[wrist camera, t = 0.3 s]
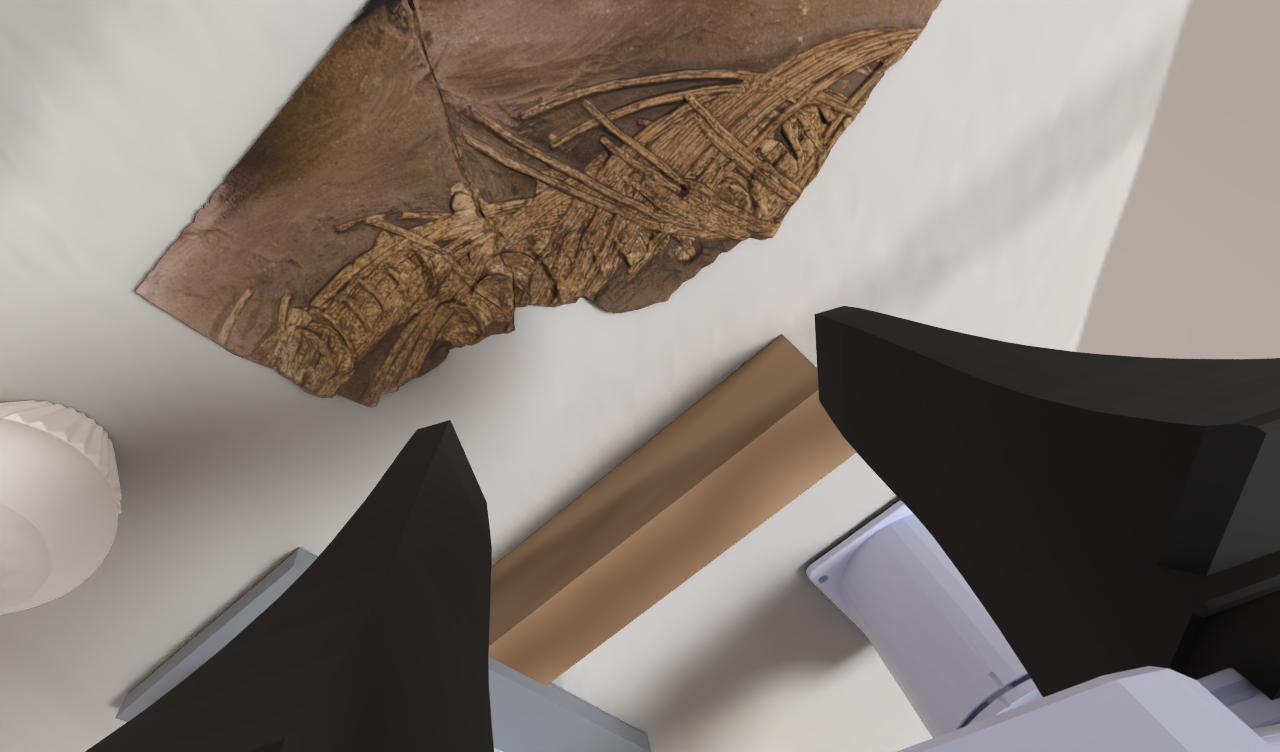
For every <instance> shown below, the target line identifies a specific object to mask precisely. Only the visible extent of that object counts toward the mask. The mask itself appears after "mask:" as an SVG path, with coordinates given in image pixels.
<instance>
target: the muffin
mask: <svg viewBox="0 0 1280 752" xmlns="http://www.w3.org/2000/svg"><path fill="white" fill-rule="evenodd" d="M121 499H122V494H121V488H120V482H119V476H118V470H117V464H116V457H115V451H114V449H113V445H112V441H111V440H110V439H108V434H107V432H105V431H103V427H102V426H99V425H96V424H95V420H94V419H90V418H87V417H86V416H85V414H84V413H81V412H76V411H75V410H74V408H72V407H69V408H66V407H64V406H62V405H61V404H58V403H57V404H52V403H50V402H48V401H41V402H37V401H35V400H29V401H17V402H5V403H0V615H3V614H9V613H14V612H19V611H23V610H26V609H30V608H33V607H36V606H39V605H42V604H45V603H48V602H50V601H53V600H55V599H57V598H60V597H62V596H64V595H65V594H67V593H69V592H71V591H72V590H74V589H75V588H77V587H78V586H79V585H81V584H82V583H83V582H84V581H86V580H87V579H88V578H89V577H90V576H91V575H92V574H93V573H94V572H95V571H96V569H97V568H98V567H99V566H100V565H101V563H102V562H103V561H104V559H105V558H106V556H107V555H108V553H109V551H110V549H111V547H112V545H113V542H114V540H115V537H116V533H117V528H118V515H120V514H121V503H120V500H121Z"/></svg>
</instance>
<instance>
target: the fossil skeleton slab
mask: <svg viewBox="0 0 1280 752" xmlns="http://www.w3.org/2000/svg"><path fill="white" fill-rule="evenodd" d="M412 1H413V3H414V6H415V10H413V11H412V9H411V8H410V7H409V5H408V0H370V2H369V3H368V4H367V5H366V6H365V7H364V12H363V13H362V14H361V15H360V16H359V17H358V18H357V19H355V20H354V21H353V22H352V23H351V25H350V26H349V27H348V28H347V30H346V31H345V32H344V33H343V35H342V36H341V37H340V39H339V40H338V41H337V43H336V44H335V46H334V47H333V49H332V50H331V52H329V53H328V54H327V55H326V56H325V58H324V59H323V61H322V62H321V63H320V64H319V65H318V67H317V68H316V69H315V70H314V71H313V72H312V73H311V74H310V76H309V77H308V78H307V79H306V81H305V82H304V83H303V84H302V86H301V87H300V88H299V89H298V91H297V92H296V93H295V95H294V97H293V99H292V101H290V102H288V103H287V104H286V106H285V107H284V109H283V110H282V112H281V113H280V114H279V115H278V117H277V118H276V119H275V120H274V121H273V122H272V123H271V124H270V126H269V127H268V128H267V130H266V131H265V132H264V133H263V134H262V136H261V137H260V138H259V139H258V141H257V142H256V143H255V145H254V146H253V147H252V148H251V149H250V150H249V152H248V153H247V154H246V155H245V157H244V158H243V159H242V160H241V162H240V163H239V164H238V165H237V166H236V167H235V168H234V169H233V170H232V171H231V172H230V173H229V175H228V178H227V180H226V181H225V182H224V183H223V184H222V185H221V186H220V187H219V188H218V189H217V191H216V192H215V193H214V194H213V196H212V198H211V200H210V203H206V204H205V208H200V210H199V211H198V213H197V215H196V217H195V223H191V224H190V225H189V226H188V227H186V228H185V229H184V231H183V233H182V235H181V236H180V238H179V239H178V240H177V241H176V242H175V243H173V245H172V246H171V247H170V248H169V250H168V251H167V252H166V254H165V255H164V256H163V257H162V258H161V260H160V261H159V263H158V264H157V266H156V267H155V269H154V270H153V271H150V272H149V274H148V276H147V277H146V279H145V280H144V281H143V283H142V284H141V285H140V286H139V287H138V288H137V290H135V292H137V293H139V294H140V295H141V296H143V297H144V298H145V299H147V300H148V301H150V302H151V303H153V304H155V305H156V306H158V307H159V308H161V309H163V310H165V311H167V312H168V313H170V314H172V315H173V316H175V317H176V318H178V319H179V320H181V321H182V322H184V323H185V324H187V325H189V326H190V327H192V328H193V329H195V330H197V331H198V332H200V333H202V334H204V335H205V336H207V337H209V338H210V339H212V340H213V341H214V342H216V343H217V344H219V345H220V346H222V347H223V348H225V349H226V350H228V351H229V352H231V353H232V354H234V355H236V356H239V357H242V358H245V359H248V360H252V361H254V362H257V363H260V364H262V365H265V366H268V367H270V368H274V369H276V370H277V371H278V372H279V373H280V374H281V375H283V376H284V377H286V378H288V379H291V380H293V381H294V382H295V383H296V384H297V385H299V386H301V387H302V388H303V389H304V391H305V392H307V393H310V394H313V395H316V396H318V397H321V398H332V397H333V396H335V395H337V394H338V395H341V396H343V397H346V398H348V399H351V400H353V401H355V402H358V403H360V404H363V405H366V406H369V407H376V406H377V404H378V401H379V398H380V395H383V394H387V393H391V392H395V391H398V389H399V386H401V385H404V384H405V383H406V382H408V381H410V380H411V379H413V378H417V377H420V376H422V375H424V374H426V373H427V372H429V371H430V370H432V369H434V368H435V367H437V366H438V365H439V364H440V363H442V362H443V361H444V360H445V359H446V357H447V355H448V353H449V349H452V348H455V347H461V348H462V347H463V346H464V345H465V344H467V345H472V346H473V345H474V344H476V343H478V342H480V341H481V340H483V339H484V338H486V337H488V336H490V335H493V334H501V333H507V334H508V333H510V332H512V331H514V330H515V326H514V311H515V307H525V306H528V305H535V304H538V305H541V306H549V307H557V306H560V305H564V304H569V303H576V302H577V300H578V299H579V298H580V297H581V296H582V297H584V298H586V299H588V300H590V301H592V302H594V303H595V304H597V305H599V306H600V307H602V308H604V309H605V310H607V311H610V312H612V313H623V312H628V311H633V310H638V309H641V308H644V307H647V306H650V305H652V304H655V303H659V302H664V301H668V299H669V297H670V296H671V294H672V293H673V292H674V291H676V290H677V289H678V288H679V287H680V285H681V284H682V283H683V282H685V281H687V280H689V279H691V278H693V277H694V276H695V275H696V274H697V273H698V272H699V271H700V270H701V269H702V268H703V267H705V266H708V265H710V264H711V263H713V262H714V261H715V259H716V258H717V256H718V255H719V254H720V253H722V252H728V251H729V250H731V249H732V248H734V247H735V246H736V245H737V244H738V243H740V242H741V241H743V240H746V239H747V238H748V237H752V238H757V239H763V240H764V239H767V238H773V237H774V235H775V234H776V232H777V230H778V228H779V227H780V224H781V222H782V220H783V218H784V216H785V215H786V214H787V212H788V211H789V209H790V208H791V206H792V205H793V204H794V203H795V202H796V201H797V200H798V199H799V197H800V195H801V193H802V192H803V190H804V189H805V188H806V187H807V186H808V185H809V183H810V182H811V181H812V180H813V179H814V178H815V177H816V176H817V174H818V172H819V171H820V169H821V167H822V166H823V164H824V162H825V160H826V159H827V157H828V155H829V152H830V150H831V148H832V147H833V145H834V144H835V143H836V141H837V140H838V138H839V137H840V136H841V134H842V133H843V132H844V131H845V129H846V128H847V127H848V126H849V124H851V123H852V122H853V121H854V119H855V117H856V116H857V114H858V113H859V112H860V110H861V109H862V108H863V106H864V105H865V104H866V103H865V102H866V101H867V99H868V98H869V95H870V93H871V91H872V90H873V88H874V87H875V86H876V85H877V83H878V82H879V81H880V79H881V78H882V77H883V75H884V72H885V71H886V70H887V69H888V68H889V67H890V66H892V65H893V64H895V63H896V62H897V61H899V60H900V59H901V58H902V57H903V55H904V54H905V53H906V52H907V50H908V49H909V48H910V46H911V45H912V43H913V42H914V40H917V39H918V38H919V36H920V35H921V33H922V32H923V30H924V29H925V27H926V25H927V23H928V21H929V19H930V17H931V15H932V13H933V11H934V10H935V9H936V8H937V7H938V5H939V4H940V2H941V0H412Z"/></svg>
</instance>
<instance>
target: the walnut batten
mask: <svg viewBox="0 0 1280 752" xmlns="http://www.w3.org/2000/svg"><path fill="white" fill-rule="evenodd" d="M855 453H856V451H855V450H854V449H853V448H852V446H851V445H850V444H849V443H848V442H847V441H846V440H845V438H844V437H843V436H842V434H841V433H840V431H839V430H838V429H837V427H836V426H835V424H834V423H833V421H832V420H831V418H830V417H829V415H828V414H827V412H826V411H825V409H824V408H823V406H822V404H821V403H820V401H819V389H818V369H817V368H816V367H815V366H814V365H813V364H812V363H811V362H810V361H809V360H808V359H807V358H806V357H805V356H804V355H803V354H802V353H801V352H800V351H799V350H798V349H797V348H796V347H795V346H794V345H793V344H792V343H791V342H790V341H788V340H787V339H786V338H785V337H784V336H783V335H782V334H781V335H780V336H778V337H777V338H776V339H775V340H773V341H772V342H771V343H770V344H768V345H767V346H766V347H765V348H764V349H762V350H761V351H760V352H759V353H757V354H756V355H755V356H754V357H752V358H751V359H750V360H749V361H747V362H746V363H745V364H744V365H742V366H741V367H740V368H739V369H737V370H736V371H735V372H734V373H732V374H731V375H730V376H729V377H727V378H726V379H725V380H724V381H723V382H721V383H720V384H719V385H718V386H716V387H715V388H714V389H713V390H711V391H710V392H709V393H708V394H706V395H705V396H704V397H703V398H701V399H700V400H699V401H698V402H696V403H695V404H694V405H693V406H691V407H690V408H689V409H688V410H686V411H685V412H684V413H683V414H682V415H680V416H679V417H678V418H677V419H675V420H674V421H673V422H672V423H670V424H669V425H668V426H667V427H665V428H664V429H663V430H662V431H660V432H659V433H658V434H657V435H655V436H654V437H653V438H652V439H650V440H649V441H648V442H647V443H645V444H644V445H643V446H642V447H641V448H639V449H638V450H637V451H636V452H634V453H633V454H632V455H631V456H629V457H628V458H627V459H626V460H624V461H623V462H622V463H621V464H619V465H618V466H617V467H616V468H614V469H613V470H612V471H611V472H609V473H608V474H607V475H606V476H604V477H603V478H602V479H601V480H600V481H598V482H597V483H596V484H595V485H593V486H592V487H591V488H590V489H588V490H587V491H586V492H585V493H583V494H582V495H581V496H580V497H578V498H577V499H576V500H575V501H573V502H572V503H571V504H570V505H568V506H567V507H566V508H565V509H563V510H562V511H561V512H560V513H559V514H557V515H556V516H555V517H554V518H552V519H551V520H550V521H549V522H547V523H546V524H545V525H544V526H542V527H541V528H540V529H539V530H537V531H536V532H535V533H534V534H532V535H531V536H530V537H529V538H527V539H526V540H525V541H524V542H522V543H521V544H520V545H519V546H518V547H516V548H515V549H514V550H513V551H511V552H510V553H509V554H508V555H506V556H505V557H504V558H503V559H501V560H500V561H499V562H498V563H496V564H495V565H494V566H493V567H491V594H490V624H489V655H488V656H489V657H490V658H492V659H494V660H496V661H498V662H500V663H502V664H504V665H506V666H508V667H510V668H512V669H514V670H516V671H518V672H519V673H521V674H523V675H525V676H527V677H529V678H531V679H533V680H535V681H537V682H539V683H541V684H543V685H545V686H546V685H548V684H549V683H550V682H552V681H553V680H554V679H556V678H557V677H558V676H560V675H561V674H562V673H564V672H565V671H566V670H568V669H569V668H570V667H572V666H573V665H574V664H576V663H577V662H578V661H580V660H581V659H582V658H584V657H585V656H586V655H588V654H589V653H590V652H592V651H593V650H594V649H596V648H597V647H598V646H599V645H601V644H602V643H603V642H605V641H606V640H607V639H609V638H610V637H611V636H613V635H614V634H615V633H617V632H618V631H619V630H621V629H622V628H623V627H625V626H626V625H627V624H629V623H630V622H631V621H633V620H634V619H635V618H637V617H638V616H639V615H641V614H642V613H643V612H645V611H646V610H647V609H649V608H650V607H651V606H653V605H654V604H655V603H657V602H658V601H659V600H661V599H662V598H663V597H665V596H666V595H667V594H669V593H670V592H671V591H673V590H674V589H675V588H677V587H678V586H679V585H681V584H682V583H683V582H685V581H686V580H687V579H689V578H690V577H691V576H693V575H694V574H695V573H697V572H698V571H699V570H701V569H702V568H703V567H705V566H706V565H707V564H709V563H710V562H711V561H713V560H714V559H715V558H717V557H718V556H719V555H721V554H722V553H723V552H725V551H726V550H727V549H729V548H730V547H731V546H733V545H734V544H735V543H737V542H738V541H739V540H741V539H742V538H743V537H745V536H746V535H747V534H749V533H750V532H751V531H753V530H754V529H755V528H757V527H758V526H759V525H761V524H762V523H763V522H765V521H766V520H767V519H769V518H770V517H771V516H773V515H774V514H775V513H777V512H778V511H779V510H781V509H782V508H783V507H785V506H786V505H787V504H789V503H790V502H791V501H793V500H794V499H795V498H797V497H798V496H799V495H801V494H802V493H803V492H805V491H806V490H807V489H809V488H810V487H811V486H813V485H814V484H815V483H817V482H818V481H819V480H821V479H822V478H823V477H825V476H826V475H827V474H829V473H830V472H831V471H832V470H834V469H835V468H836V467H838V466H839V465H840V464H842V463H843V462H844V461H846V460H847V459H848V458H850V457H851V456H852V455H854V454H855Z"/></svg>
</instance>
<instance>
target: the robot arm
mask: <svg viewBox="0 0 1280 752" xmlns="http://www.w3.org/2000/svg"><path fill="white" fill-rule="evenodd" d="M815 330H816V350H817V369H818V389H819V401H820V403H821V404H822V406H823V408H824V409H825V411H826V412H827V414H828V415H829V417H830V418H831V420H832V421H833V423H834V424H835V426H836V427H837V429H838V430H839V431H840V433H841V434H842V436H843V437H844V438H845V440H846V441H847V442H848V443H849V444H850V445H851V446H852V448H853V449H854V450H855V451H856V452H857V453H858V454H859V455H860V456H861V457H862V459H863V460H864V461H865V462H866V463H867V464H868V465H869V466H870V467H871V468H872V469H873V471H874V472H875V473H876V474H877V475H878V476H879V477H880V478H881V479H882V480H883V481H884V482H885V483H886V485H887V486H888V487H889V488H890V489H891V490H892V491H893V492H894V493H895V494H896V495H897V496H898V498H899V499H900V501H898V502H897V503H895V504H894V505H893V506H891V507H890V508H888V509H887V510H886V511H884V512H883V513H882V514H880V515H879V516H877V517H876V518H875V519H873V520H872V521H870V522H869V523H868V524H866V525H865V526H863V527H862V528H861V529H859V530H858V531H857V532H855V533H854V534H852V535H851V536H850V537H848V538H847V539H845V540H844V541H843V542H841V543H840V544H839V545H837V546H836V547H834V548H833V549H832V550H830V551H829V552H827V553H826V554H825V555H823V556H822V557H820V558H819V559H818V560H816V561H815V562H814V563H812V564H811V565H810V566H809V567H808V568H807V570H806V574H807V576H808V577H809V579H810V580H811V581H812V582H813V583H814V584H815V585H816V586H817V587H818V588H819V589H820V590H821V591H822V592H823V593H824V594H825V595H826V596H827V597H828V598H829V599H830V600H831V601H832V602H833V603H834V604H835V605H836V606H837V607H838V608H839V609H840V610H841V611H842V612H843V613H844V614H845V615H846V616H847V617H848V618H849V619H850V620H851V621H852V622H853V623H854V624H855V625H856V626H857V627H858V628H859V629H861V630H862V631H863V632H864V633H865V635H866V636H867V638H868V639H869V641H870V642H871V644H872V645H873V647H874V648H875V650H876V651H877V653H878V654H879V656H880V658H881V659H882V661H883V662H884V664H885V665H886V667H887V668H888V670H889V671H890V673H891V674H892V676H893V677H894V679H895V681H896V682H897V684H898V685H899V687H900V688H901V690H902V691H903V693H904V694H905V696H906V697H907V699H908V700H909V702H910V704H911V705H912V707H913V708H914V710H915V711H916V713H917V714H918V716H919V717H920V719H921V720H922V722H923V723H924V725H925V727H926V728H927V730H928V731H929V733H930V734H931V736H932V737H933V739H930V740H927V741H925V742H922V743H919V744H917V745H914V746H911V747H909V748H906V749H903V750H900V751H898V752H1280V358H1276V359H1242V360H1239V359H1236V360H1235V359H1234V360H1233V359H1167V358H1144V357H1130V356H1129V357H1128V356H1115V355H1101V354H1090V353H1080V352H1070V351H1063V350H1055V349H1048V348H1040V347H1033V346H1026V345H1020V344H1014V343H1008V342H1003V341H998V340H993V339H988V338H983V337H978V336H973V335H968V334H964V333H959V332H955V331H950V330H946V329H942V328H938V327H934V326H930V325H926V324H922V323H918V322H914V321H910V320H906V319H902V318H898V317H894V316H890V315H886V314H882V313H878V312H874V311H869V310H865V309H860V308H854V307H847V306H842V307H839V308H835V309H832V310H828V311H825V312H821V313H818V314H815ZM491 553H492V548H491V538H490V528H489V519H488V511H487V503H486V500H485V498H484V496H483V493H482V491H481V489H480V487H479V484H478V482H477V480H476V477H475V475H474V473H473V471H472V468H471V466H470V464H469V461H468V459H467V457H466V455H465V452H464V450H463V448H462V446H461V443H460V441H459V439H458V436H457V434H456V432H455V430H454V427H453V425H452V423H451V421H450V420H449V421H445V422H442V423H438V424H435V425H432V426H428V427H425V428H421V429H418V430H417V431H416V432H415V433H414V434H413V436H412V437H411V438H410V440H409V441H408V442H407V444H406V445H405V446H404V448H403V449H402V451H401V452H400V453H399V455H398V456H397V458H396V459H395V460H394V462H393V463H392V465H391V466H390V467H389V469H388V470H387V471H386V473H385V474H384V476H383V477H382V478H381V480H380V481H379V482H378V484H377V485H376V486H375V488H374V489H373V491H372V492H371V493H370V495H369V496H368V497H367V499H366V500H365V501H364V503H363V504H362V505H361V506H360V507H359V509H358V510H357V511H356V512H355V514H354V515H353V516H352V517H351V519H350V520H349V521H348V522H347V523H346V525H345V526H344V527H343V528H342V530H341V531H340V532H339V533H338V534H337V536H336V537H335V538H334V539H333V541H332V542H331V543H330V544H329V545H328V546H327V548H326V549H325V550H324V551H323V552H322V553H321V554H320V555H319V557H318V558H317V559H316V560H315V561H314V562H313V563H312V564H311V565H310V566H309V567H308V568H307V569H306V570H305V571H304V572H303V574H302V575H301V576H300V577H299V578H298V579H297V580H296V581H295V582H294V583H293V584H292V585H291V586H290V587H289V588H288V589H287V590H286V591H285V592H284V593H283V594H282V595H281V596H280V597H279V598H278V599H277V600H276V601H275V602H273V603H272V604H271V605H270V606H269V607H268V608H267V609H266V610H265V611H263V612H262V613H261V614H260V615H259V616H258V617H257V618H256V619H255V620H253V621H252V622H251V623H250V624H249V625H248V626H247V627H246V628H245V629H243V630H242V631H241V632H240V633H239V634H238V635H237V636H236V637H235V638H233V639H232V640H231V641H230V642H229V643H228V644H227V645H226V646H224V647H223V648H222V649H221V650H220V651H219V652H217V653H216V654H215V655H214V656H213V657H211V658H210V659H209V660H208V661H206V662H205V663H204V664H203V665H201V666H200V667H199V668H198V669H197V670H195V671H194V672H193V673H192V674H190V675H189V676H188V677H187V678H185V679H184V680H183V681H181V682H180V683H179V684H178V685H176V686H175V687H174V688H172V689H171V690H170V691H168V692H167V693H166V694H165V695H163V696H162V697H161V698H159V699H158V700H157V701H156V702H154V703H153V704H152V705H150V706H149V707H148V708H146V709H145V710H144V711H142V712H141V713H139V714H138V715H137V716H135V717H134V718H133V719H131V720H130V721H129V722H127V723H126V724H124V725H123V726H121V727H120V728H119V729H117V730H116V731H114V732H113V733H111V734H110V735H109V736H107V737H106V738H104V739H103V740H101V741H100V742H99V743H97V744H96V745H94V746H93V747H91V748H90V749H88V750H87V751H86V752H494V745H493V733H492V720H491V706H490V693H489V664H488V655H489V624H490V594H491Z"/></svg>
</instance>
